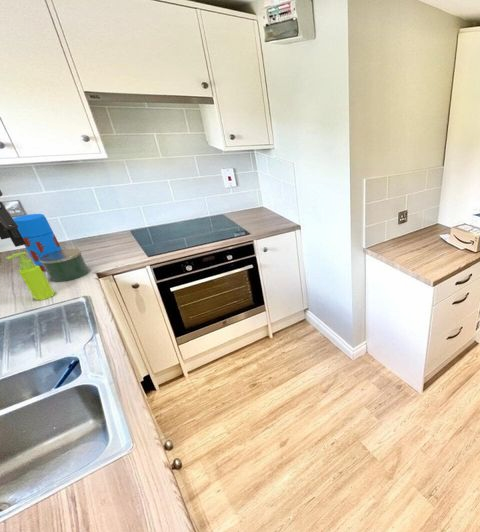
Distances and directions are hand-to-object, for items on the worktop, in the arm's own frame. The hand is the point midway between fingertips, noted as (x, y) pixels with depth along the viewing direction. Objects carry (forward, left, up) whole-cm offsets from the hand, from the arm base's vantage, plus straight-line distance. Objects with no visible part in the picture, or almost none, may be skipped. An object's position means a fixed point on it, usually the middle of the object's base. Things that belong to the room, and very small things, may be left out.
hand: (13, 241), depth 123 cm
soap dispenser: (-1, 0, -25) cm, 25 cm away
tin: (+13, +14, -25) cm, 32 cm away
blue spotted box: (+13, +32, -25) cm, 43 cm away
